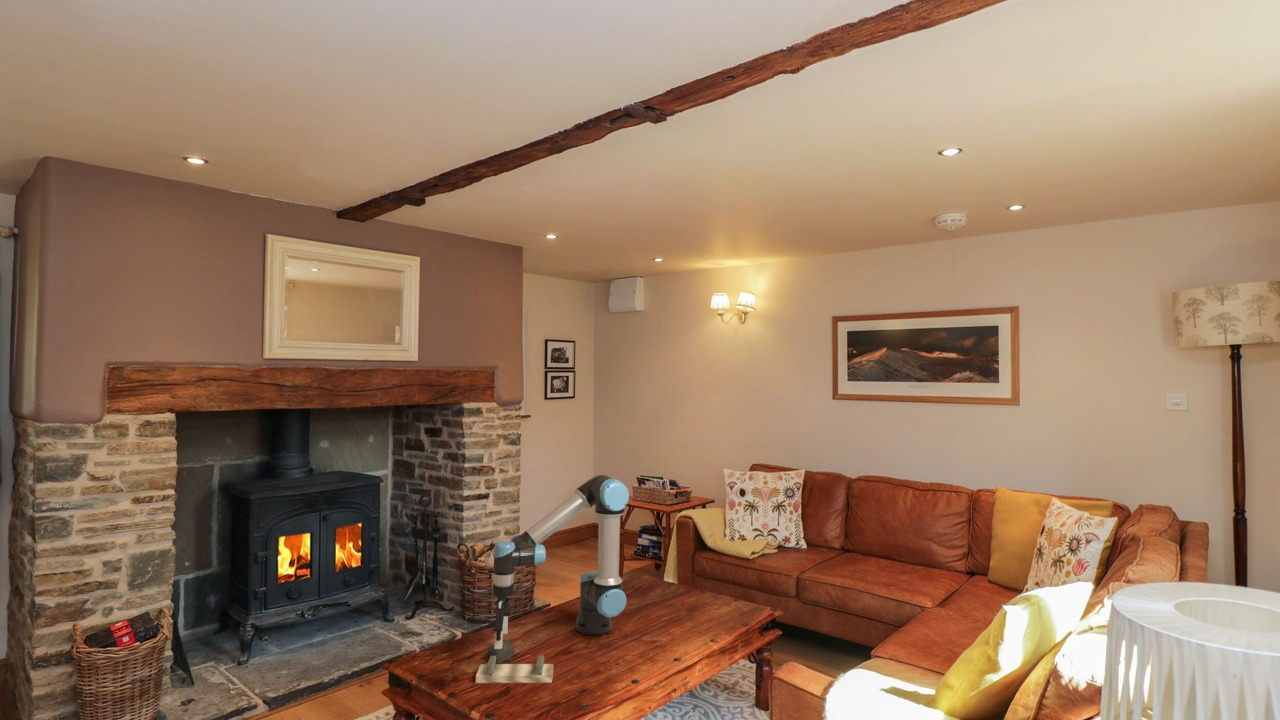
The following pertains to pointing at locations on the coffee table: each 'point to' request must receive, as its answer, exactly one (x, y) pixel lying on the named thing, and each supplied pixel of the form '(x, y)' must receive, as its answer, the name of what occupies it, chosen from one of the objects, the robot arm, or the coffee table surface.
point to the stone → (501, 652)
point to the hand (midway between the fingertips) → (501, 641)
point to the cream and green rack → (515, 672)
